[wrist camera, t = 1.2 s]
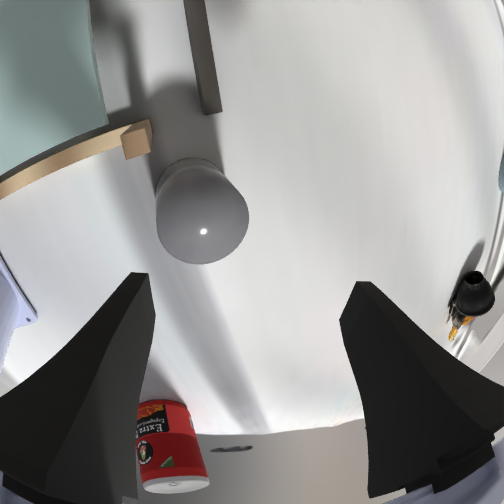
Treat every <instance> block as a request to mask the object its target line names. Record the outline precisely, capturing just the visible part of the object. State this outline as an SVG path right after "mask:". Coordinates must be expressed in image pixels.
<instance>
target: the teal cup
mask: <svg viewBox="0 0 504 504" xmlns="http://www.w3.org/2000/svg"><path fill="white" fill-rule="evenodd" d="M499 188H500V190H501V191H502V192H503V193H504V156H503V159H502V162H501V166H500V171H499Z"/></svg>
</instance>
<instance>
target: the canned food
mask: <svg viewBox="0 0 504 504" xmlns="http://www.w3.org/2000/svg"><path fill="white" fill-rule="evenodd" d="M136 449H137V456H138V462H139V468H140V474H141V478H142V483H143V486H144V489H145V490H147V491H150V492H154V493H182V492H189V491H194V490H198V489H201V488H204V487H206V486H208V485H209V484H210V483H209V478H208V475H207V471H206V468H205V465H204V462H203V458H202V455H201V452H200V448H199V445H198V441H197V438H196V434H195V430H194V427H193V423H192V419H191V415H190V413H189V411H188V410H187V408H186V407H185V406H184V405H182V404H180V403H178V402H175V401H170V400H152V401H147V402H144V403H142V404H139V405H138V412H137V426H136Z"/></svg>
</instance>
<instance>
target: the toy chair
mask: <svg viewBox="0 0 504 504" xmlns="http://www.w3.org/2000/svg"><path fill="white" fill-rule="evenodd" d="M184 7H185V13H186V19H187V26H188V32H189V38H190V44H191V50H192V56H193V62H194V68H195V74H196V79H197V85H198V91H199V96H200V102H201V107H202V113H203V114H204V115H209V114H214V113H219V112H223V111H222V105H221V99H220V93H219V87H218V81H217V75H216V69H215V63H214V57H213V51H212V45H211V39H210V32H209V26H208V20H207V14H206V8H205V2H204V0H184ZM152 136H153V132H152V127H151V123H150V119H145V120H142V121H139V122H136V123H132V124H129V125H126V126H123V127H120V128H117V129H115V130H112V131H109V132H106V133H103V134H101V135H98V136H95V137H93V138H90V139H88V140H85V141H83V142H80V143H78V144H76V145H73V146H71V147H69V148H66V149H64V150H62V151H60V152H57V153H55V154H53V155H51V156H49V157H47V158H45V159H43V160H41V161H39V162H37V163H35V164H33V165H31V166H29V167H27V168H25V169H23V170H22V171H20V172H18V173H16V174H14V175H13V176H11V177H9V178H7V179H6V180H4V181H2V182H1V183H0V200H1V199H2V198H4V197H6V196H8V195H9V194H11V193H13V192H15V191H17V190H18V189H20V188H22V187H24V186H26V185H28V184H30V183H32V182H34V181H36V180H38V179H40V178H42V177H44V176H46V175H48V174H50V173H53V172H55V171H57V170H59V169H61V168H64V167H66V166H68V165H71V164H73V163H75V162H78V161H80V160H83V159H85V158H88V157H90V156H93V155H95V154H98V153H101V152H103V151H106V150H109V149H111V148H114V147H117V146H120V145H122V147H123V150H124V154H125V158H126V160H128V159H131V158H134V157H137V156H140V155H143V154H146V153H149V152H151V144H152Z"/></svg>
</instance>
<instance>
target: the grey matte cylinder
mask: <svg viewBox="0 0 504 504" xmlns="http://www.w3.org/2000/svg"><path fill="white" fill-rule="evenodd" d="M156 222H157V233H158V237H159V239H160V242H161V244H162V245H163V247H164V248H165V249H166V251H167V252H168V253H169V254H171V255H172V256H173V257H175V258H176V259H178V260H180V261H183V262H186V263H190V264H208V263H212V262H215V261H218V260H220V259H222V258H224V257H226V256H227V255H229V254H230V253H231V252H233V251H234V250H235V249H236V248H237V247H238V245H239V244H240V243H241V241H242V240H243V238H244V236H245V234H246V231H247V228H248V224H249V212H248V207H247V204H246V202H245V200H244V198H243V196H242V195H241V194H240V193H239V191H238V190H237V189H236V188H235V187H234V186H233V185H232V184H231V182H230V181H229V180H228V179H227V178H226V177H225V176H224V174H223V173H222V172H221V171H220V170H219V169H218V168H217V167H216V166H215V165H214V164H212V163H211V162H209V161H206V160H204V159H199V158H187V159H183V160H180V161H177V162H175V163H174V164H172V165H171V166H169V167H168V168H167V169H166V170H165V171H164V172H163V174H162V175H161V177H160V179H159V181H158V183H157V187H156Z"/></svg>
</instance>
